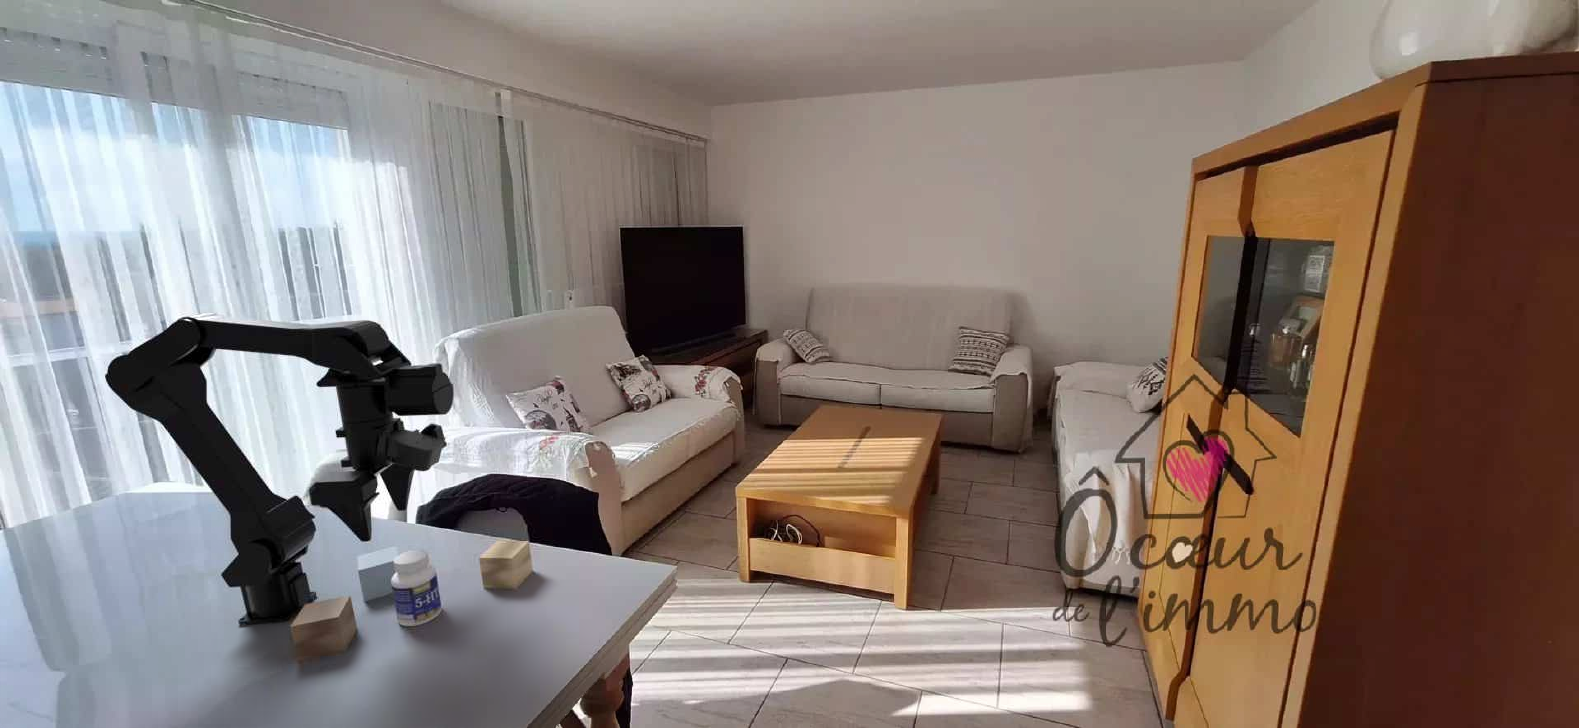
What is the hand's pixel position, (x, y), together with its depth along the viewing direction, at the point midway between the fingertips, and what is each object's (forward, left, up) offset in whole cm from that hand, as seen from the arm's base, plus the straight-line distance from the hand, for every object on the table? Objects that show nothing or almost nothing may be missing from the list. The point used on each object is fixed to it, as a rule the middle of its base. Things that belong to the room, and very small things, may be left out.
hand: (385, 524), depth 88 cm
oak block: (+14, +4, -12) cm, 19 cm away
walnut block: (-4, -9, -12) cm, 15 cm away
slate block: (-4, +4, -12) cm, 13 cm away
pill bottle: (+5, -4, -12) cm, 14 cm away
